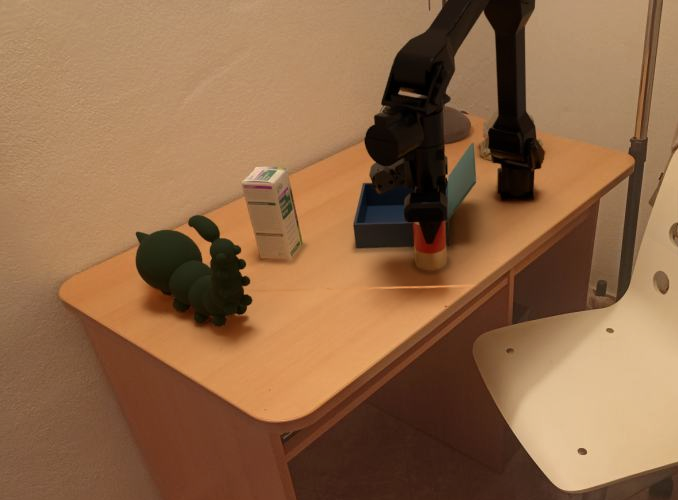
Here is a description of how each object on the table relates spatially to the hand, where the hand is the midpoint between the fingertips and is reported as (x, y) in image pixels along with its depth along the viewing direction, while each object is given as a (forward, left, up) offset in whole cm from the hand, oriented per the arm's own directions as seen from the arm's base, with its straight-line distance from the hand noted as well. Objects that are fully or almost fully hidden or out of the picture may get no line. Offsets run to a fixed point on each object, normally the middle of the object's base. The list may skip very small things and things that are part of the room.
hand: (429, 234), depth 109 cm
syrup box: (+26, -5, -6) cm, 27 cm away
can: (0, 0, -6) cm, 6 cm away
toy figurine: (+36, +11, -6) cm, 38 cm away
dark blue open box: (+5, -13, -6) cm, 15 cm away
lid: (-5, -13, +3) cm, 14 cm away
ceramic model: (-16, -45, -6) cm, 48 cm away
